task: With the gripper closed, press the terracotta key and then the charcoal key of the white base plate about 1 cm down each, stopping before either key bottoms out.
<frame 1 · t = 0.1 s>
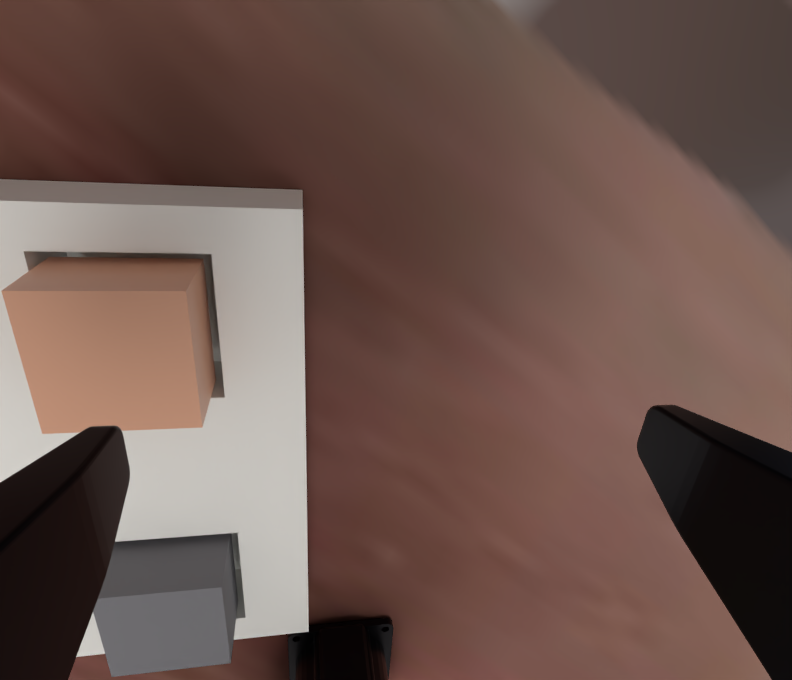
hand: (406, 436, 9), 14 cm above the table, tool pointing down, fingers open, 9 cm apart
white base plate: (176, 424, 25), on the table
key 2: (173, 600, 24), point 4 cm above the table, slide at 0.0 cm
key 1: (126, 342, 18), point 4 cm above the table, slide at 0.0 cm
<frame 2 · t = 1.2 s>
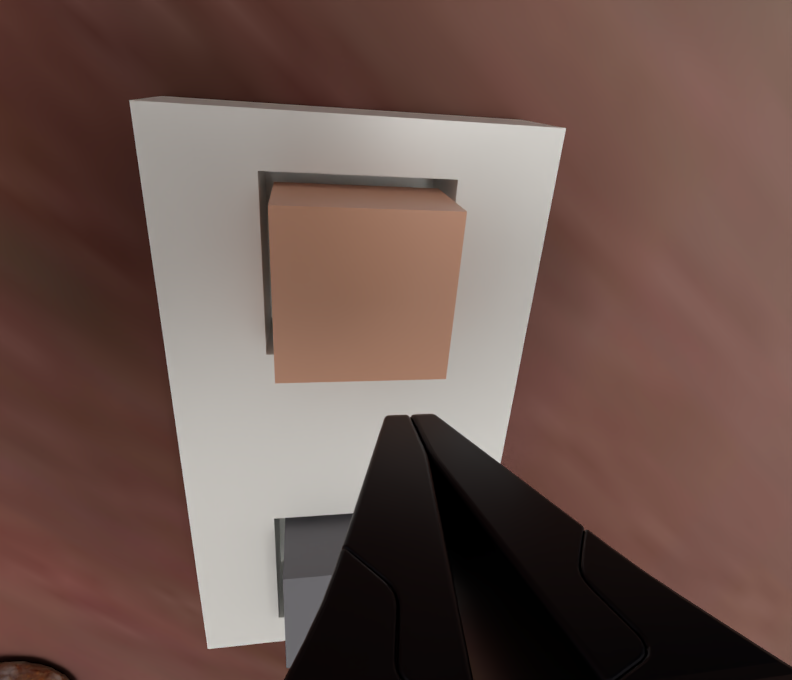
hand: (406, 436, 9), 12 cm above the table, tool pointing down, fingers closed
white base plate: (344, 389, 22), on the table
key 2: (348, 583, 21), point 4 cm above the table, slide at 0.0 cm
key 1: (360, 281, 16), point 4 cm above the table, slide at 0.0 cm
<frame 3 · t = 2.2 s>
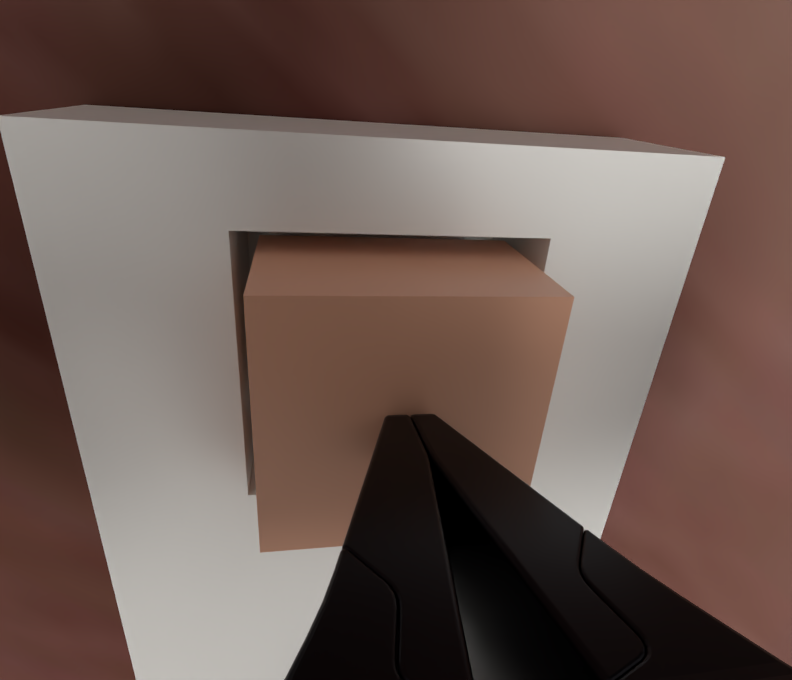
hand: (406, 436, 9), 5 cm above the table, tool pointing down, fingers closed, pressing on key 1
white base plate: (359, 498, 16), on the table
key 1: (391, 385, 10), point 4 cm above the table, slide at 0.6 cm, touching gripper
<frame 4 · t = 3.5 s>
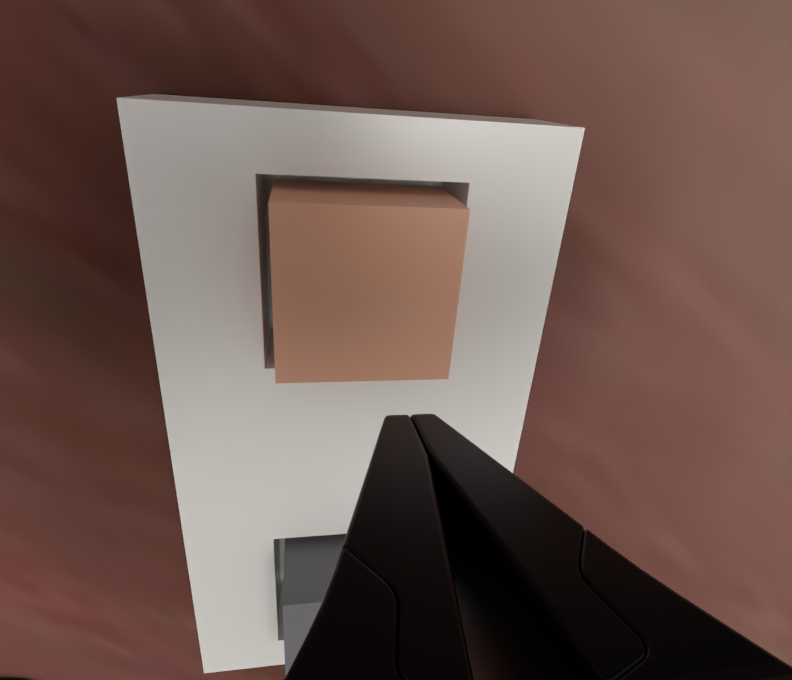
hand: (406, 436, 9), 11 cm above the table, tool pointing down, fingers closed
white base plate: (347, 402, 21), on the table
key 2: (351, 606, 20), point 4 cm above the table, slide at 0.0 cm
key 1: (362, 280, 15), point 3 cm above the table, slide at 0.9 cm
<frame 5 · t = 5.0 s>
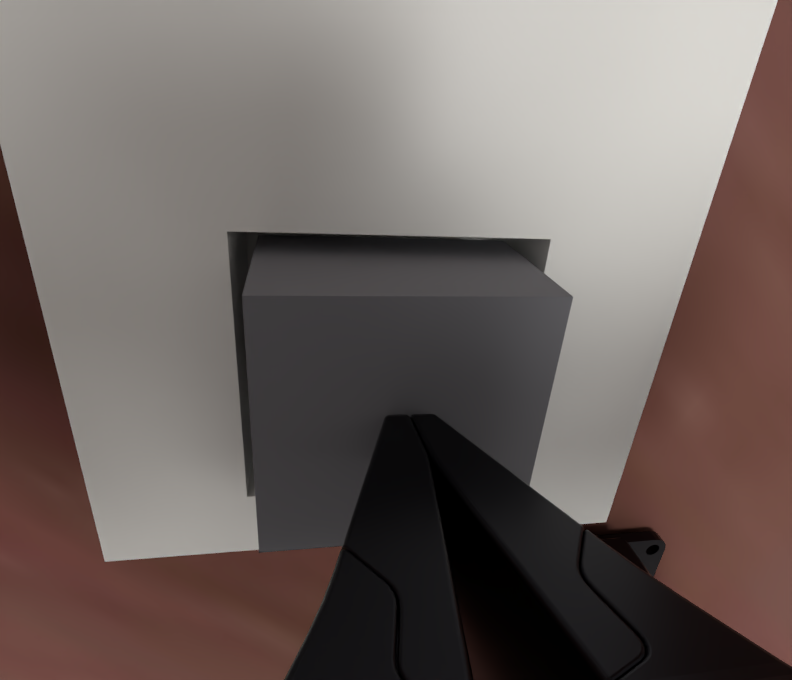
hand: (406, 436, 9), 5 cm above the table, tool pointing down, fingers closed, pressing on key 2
white base plate: (381, 17, 11), on the table
key 2: (390, 385, 10), point 4 cm above the table, slide at 0.6 cm, touching gripper
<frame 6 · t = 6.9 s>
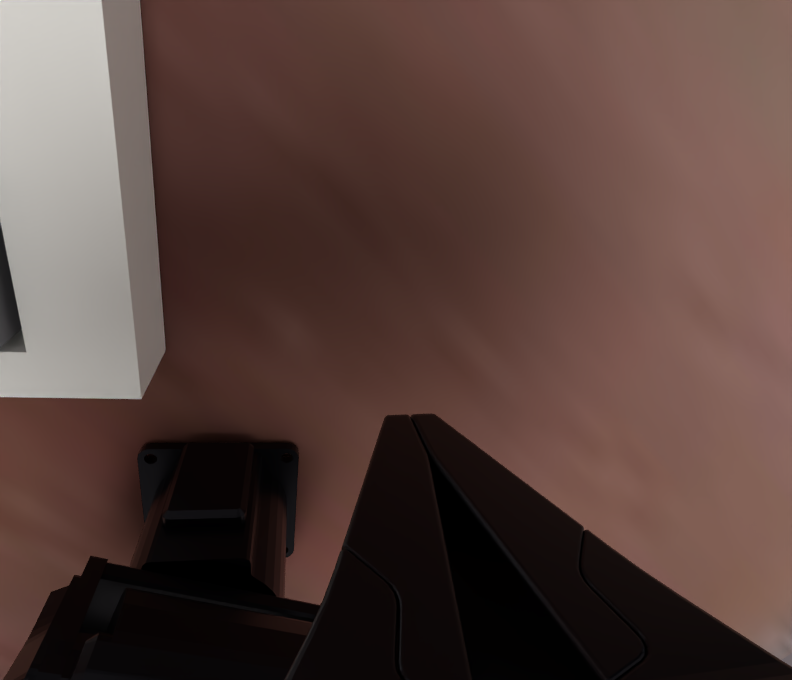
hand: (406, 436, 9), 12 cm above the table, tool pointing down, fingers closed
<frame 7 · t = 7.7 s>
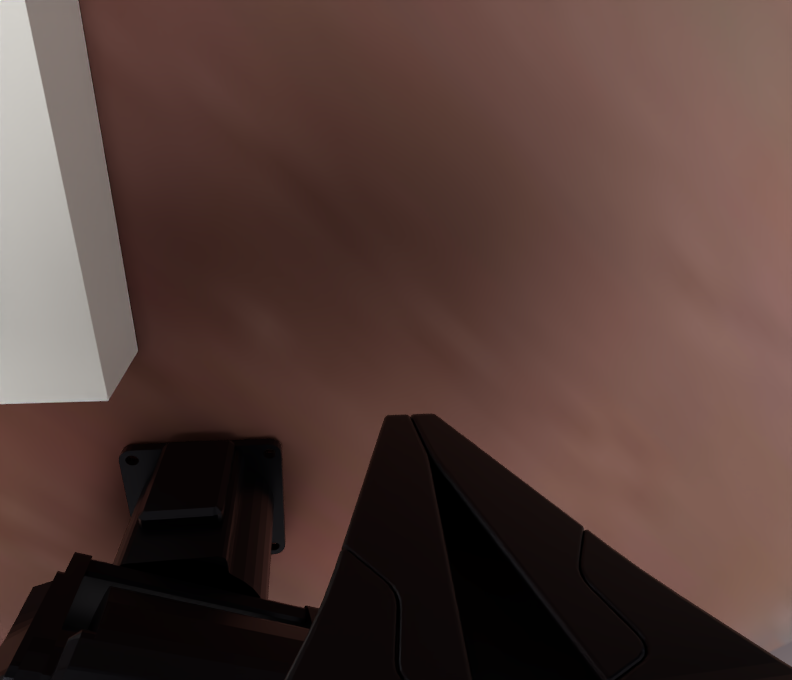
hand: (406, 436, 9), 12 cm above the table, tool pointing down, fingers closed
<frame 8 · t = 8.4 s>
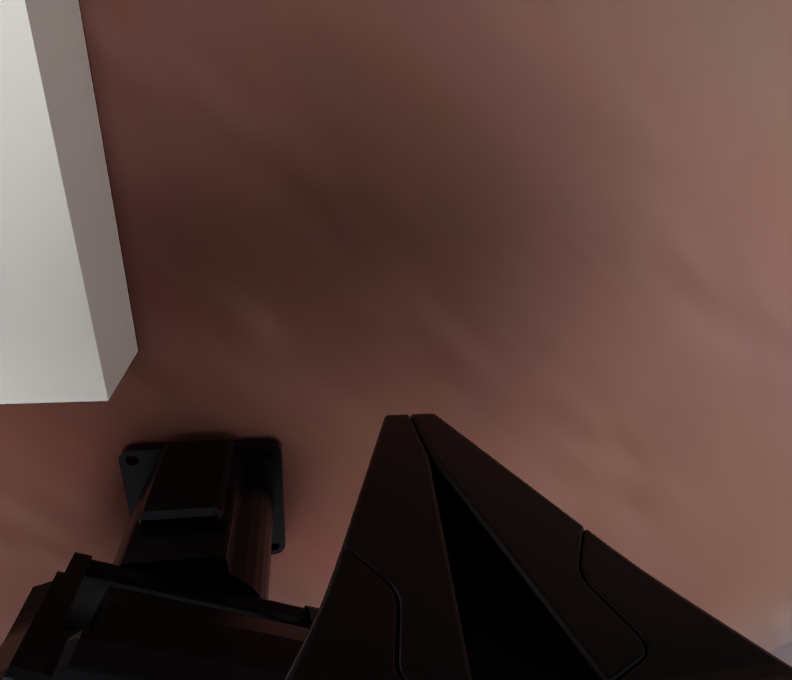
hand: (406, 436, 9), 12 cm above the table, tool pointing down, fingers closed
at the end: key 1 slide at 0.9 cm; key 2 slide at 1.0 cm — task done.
